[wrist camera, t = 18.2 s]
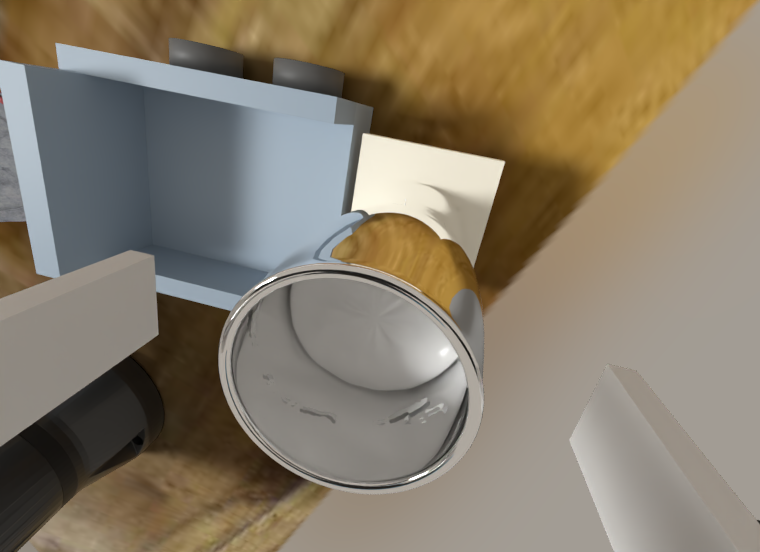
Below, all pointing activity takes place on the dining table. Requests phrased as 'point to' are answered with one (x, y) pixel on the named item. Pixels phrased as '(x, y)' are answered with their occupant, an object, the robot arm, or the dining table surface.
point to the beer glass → (363, 348)
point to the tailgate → (430, 179)
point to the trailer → (180, 162)
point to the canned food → (8, 176)
